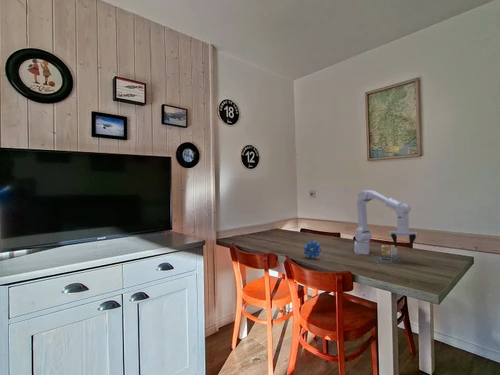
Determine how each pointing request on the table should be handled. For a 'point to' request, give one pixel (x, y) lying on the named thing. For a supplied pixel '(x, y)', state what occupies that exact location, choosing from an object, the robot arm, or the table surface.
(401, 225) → the robot arm
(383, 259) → the base board
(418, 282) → the table surface
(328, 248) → the table surface
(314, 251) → the grapes
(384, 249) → the taped cardboard box
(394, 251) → the post
